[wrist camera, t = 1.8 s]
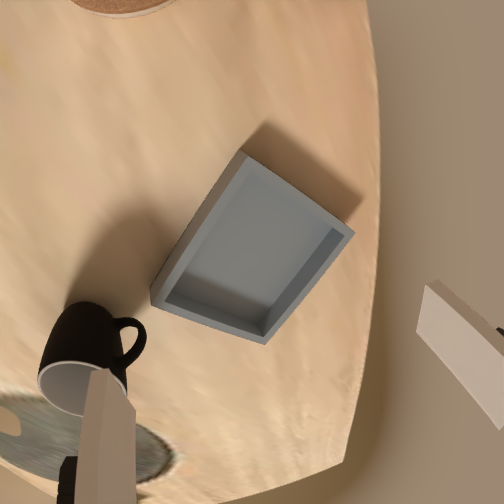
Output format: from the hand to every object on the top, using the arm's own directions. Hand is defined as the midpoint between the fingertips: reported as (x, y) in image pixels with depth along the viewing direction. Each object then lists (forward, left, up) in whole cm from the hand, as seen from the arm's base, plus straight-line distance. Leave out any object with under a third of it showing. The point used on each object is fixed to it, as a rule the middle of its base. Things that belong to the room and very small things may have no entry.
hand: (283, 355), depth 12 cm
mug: (-2, -19, -22) cm, 29 cm away
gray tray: (+9, -4, -21) cm, 23 cm away
